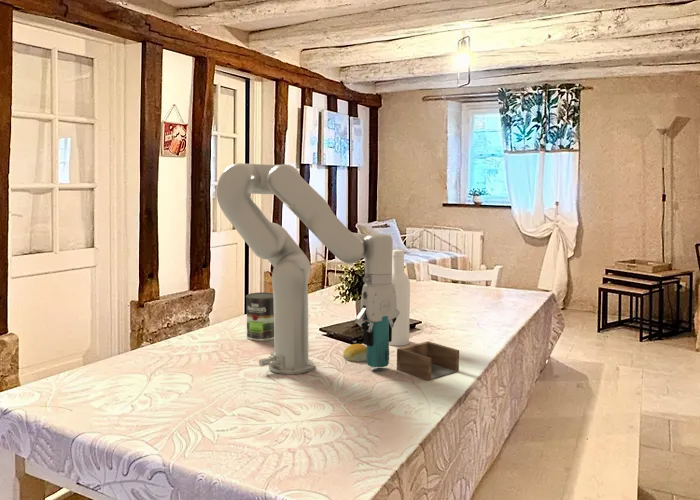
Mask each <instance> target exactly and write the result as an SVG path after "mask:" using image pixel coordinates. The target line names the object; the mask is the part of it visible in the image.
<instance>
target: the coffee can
mask: <svg viewBox="0 0 700 500" xmlns="http://www.w3.org/2000/svg"><path fill="white" fill-rule="evenodd" d="M245 298H246V339H247V340H250V341H255V342H266V341H272V340H273V341H274V301H273V292H261V291H260V292H252V293H247V294H246V295H245Z"/></svg>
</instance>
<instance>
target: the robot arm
mask: <svg viewBox="0 0 700 500" xmlns="http://www.w3.org/2000/svg"><path fill="white" fill-rule="evenodd" d="M250 194H251V195H252V194H253V195H255V194H256V195H275V196H276V197H277V199H279V200H280V201H281V202H282V203H283V204H284V205H285V207H287V208H288V209H289V210H290V211H291V212H292V213H293V214H294V215H295V216H296V217H297V218H298V219H299V221H301V222H302V223H303V224H304V225H305V226H306V228H307V229H308V230H309V231H311V233H312V234H313V235H314V236H315V237H316V238H317V239H318V240H319V242H320V243H321V244H322V245H324V247H326V248H327V250H328V251H330V252H331V254H333V256H335V257H336V258H337V259H338V260H339V261H340V262H343V263H345V264H347V265H348V264H349V265H353V264H356V263H358V262H359V261H360V260H362V259H364V276H363V277H362V282H363V283H364V284H363V286H362V290H361V299H360V310H359V311H360V312H358V314H357V316H356V317H355V319H354V322H355V323H356V324H357V325H358V326H359V328H360V329H361V331H363V345H364V346H367V345H368V346H373V332H371V330H372V327H373V324H374V323H376V322H380V321H382V317H383V316H388V320H389V342H391V341H392V328H393V326H394V323H395V321H396V318H397V317H398V315H399V314H400V312H399V310H398V309H397V299H396V291H395V286H394V283H392V253H393V250H394V249H393V248H394V247H393V238H392V236H391V235H389V234H386V233H372V234H365V233H358V232H352V231H351V230H349V229H348V227H346V226H345V224H344V223H343V222H342V221H340V219H339V218H338V217H337V216H336V214H335V213H334V212H333V210H332V208H331V207H330V205H329V204H328V202H327V201H326V200H325V198H324V197H323V196H322V195H321V194H320V193H319V192H317V191H316V190H315V189H314V188H313V187H312V186H311V185H310V184H309V183H308V182H307V181H306V180H305V179H304V178H303V177H302V176H301V174H300V172H299V171H298V169H297V168H296V167H294V165H290V164H283V163H282V164H262V163H261V164H260V163H259V164H258V163H241V162H240V163H233V164H231V165H229V166H227V167H226V168H225V169H224V170H223V172H222V173H221V174H220V177H219V179H218V181H217V186H216V197H217V198H216V199H217V202H218V205H219V208H220V210H221V211H222V212H223V214H224V216H225V217H226V218H227V220H228V221H229V222H230V223H231V224H232V226H233V227H234V228H235V230H236V232H237V233H238V234H239V236H240V237H241V238H242V239H243V241H244V242H245V244H247V246H248V247H249V248H250V249H251V251H252V252H253V253H254V254H255V256H256V257H258V258H260V259H263V260H267V261H268V263H270V265H272V267H273V269H272V274H271V284H272V285H271V286H272V293H273V301H274V339H273V345H274V346H273V348H274V349H273V352H271V353H270V356H268V358H262V359H259V360H258V365H259V366H260V367H265V366H268V369H269V371H271V372H273V373H276V374H282V375H299V374H304V373H307V372H310V371H312V370H313V369H314V367H315V363H314V361H313V360H312V359H309V295H308V294H309V293H308V292H309V290H308V285H309V284H308V283H309V282H308V281H309V277H310V274H311V271H312V270H311V269H312V266H311V262H310V260H309V258H308V257H307V255H306V253H304V251H303V250H302V249H301V248H300V246H299V245H298V244H297V242H295V240H294V238H292V236H291V235H290V233H288V231H287V230H286V229H285V228H284V226H281V224H279V223H275V222H271V221H270V220H269V219H268V218H267V217H266V215H265V214H264V213H263V211H262V210H261V209H260V208H259V206H258V205H257V204H256V203H255V202H254V201H253V199H252V198H251V196H250ZM368 322H369V325H368V326H367V324H368Z"/></svg>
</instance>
